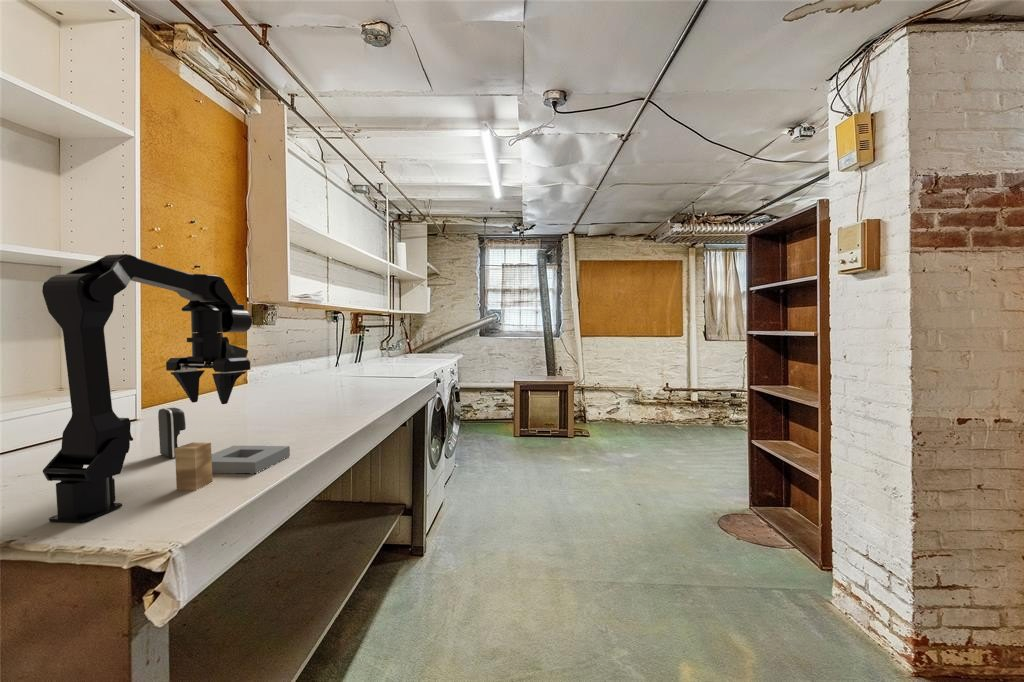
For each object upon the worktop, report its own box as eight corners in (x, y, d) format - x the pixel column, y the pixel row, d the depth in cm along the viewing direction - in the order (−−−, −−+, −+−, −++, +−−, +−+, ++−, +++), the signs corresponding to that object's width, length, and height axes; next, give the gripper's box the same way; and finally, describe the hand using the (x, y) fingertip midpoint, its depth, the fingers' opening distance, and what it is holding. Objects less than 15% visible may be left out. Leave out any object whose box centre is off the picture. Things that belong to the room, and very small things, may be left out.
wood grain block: (196, 490, 83) (194, 448, 83) (176, 489, 83) (174, 448, 83) (212, 482, 87) (210, 442, 87) (193, 482, 87) (192, 442, 87)
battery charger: (188, 455, 106) (186, 408, 105) (169, 459, 103) (167, 411, 102) (178, 450, 110) (176, 405, 109) (159, 454, 107) (157, 407, 106)
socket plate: (255, 474, 92) (255, 462, 91) (193, 473, 93) (192, 461, 93) (289, 456, 103) (289, 446, 103) (234, 455, 105) (233, 445, 105)
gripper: (270, 332, 102) (272, 399, 102) (212, 332, 108) (214, 396, 108) (225, 332, 91) (227, 407, 92) (163, 333, 97) (165, 403, 98)
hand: (209, 403), depth 98 cm, fingers open, 9 cm apart
